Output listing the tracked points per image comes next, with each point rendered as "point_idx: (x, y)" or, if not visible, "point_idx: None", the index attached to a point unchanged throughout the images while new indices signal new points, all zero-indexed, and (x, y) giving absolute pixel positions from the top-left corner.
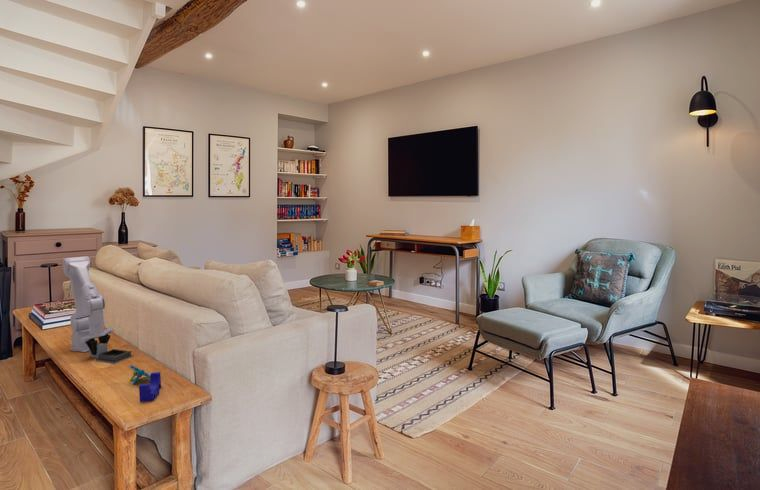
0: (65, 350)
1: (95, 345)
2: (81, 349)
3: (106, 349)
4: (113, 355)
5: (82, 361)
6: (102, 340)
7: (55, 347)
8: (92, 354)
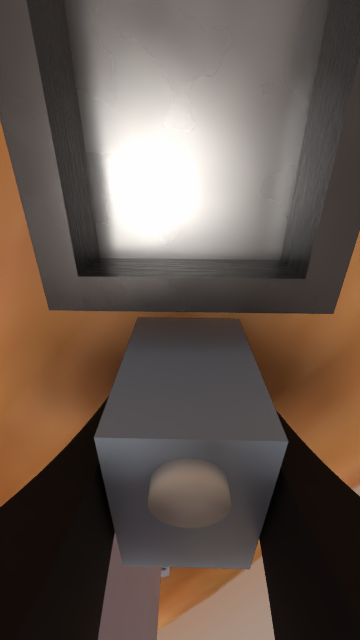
0: (177, 577)
1: (328, 504)
2: None
3: (138, 361)
4: (142, 209)
5: (342, 394)
6: (89, 569)
7: (162, 613)
8: None
